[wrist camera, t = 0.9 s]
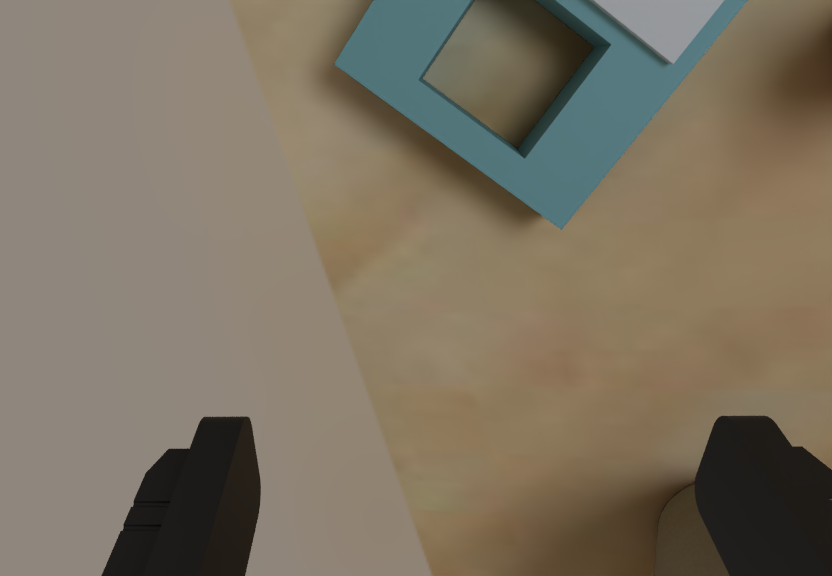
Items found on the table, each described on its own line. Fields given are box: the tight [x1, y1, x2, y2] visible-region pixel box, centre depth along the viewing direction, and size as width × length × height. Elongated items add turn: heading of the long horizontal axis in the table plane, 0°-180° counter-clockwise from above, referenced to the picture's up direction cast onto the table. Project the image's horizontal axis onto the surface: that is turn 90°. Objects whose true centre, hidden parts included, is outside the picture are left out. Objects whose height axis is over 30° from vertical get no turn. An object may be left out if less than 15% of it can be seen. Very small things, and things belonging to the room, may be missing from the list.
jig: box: [334, 0, 748, 230], centre depth 31 cm, size 16×14×5 cm
